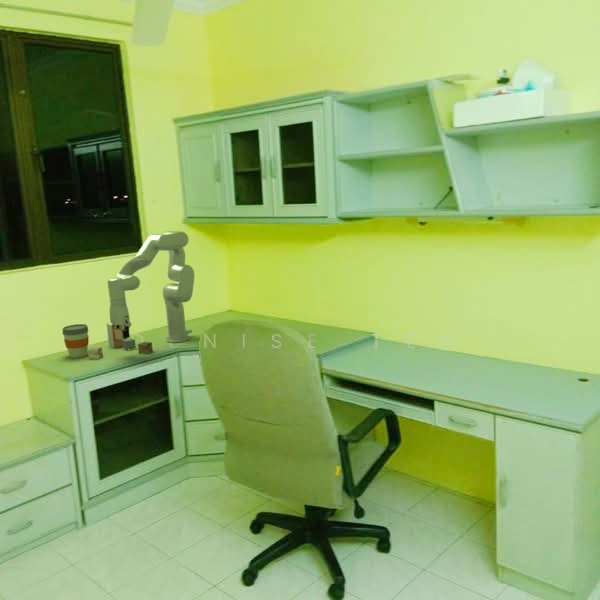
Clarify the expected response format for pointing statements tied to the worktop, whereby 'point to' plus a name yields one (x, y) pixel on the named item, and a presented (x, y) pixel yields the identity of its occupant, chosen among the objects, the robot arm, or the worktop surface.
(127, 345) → the slate grey cube
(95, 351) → the pale oak cube
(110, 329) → the small box
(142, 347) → the walnut cube
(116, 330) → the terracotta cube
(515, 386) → the worktop surface
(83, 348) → the reusable coffee cup
